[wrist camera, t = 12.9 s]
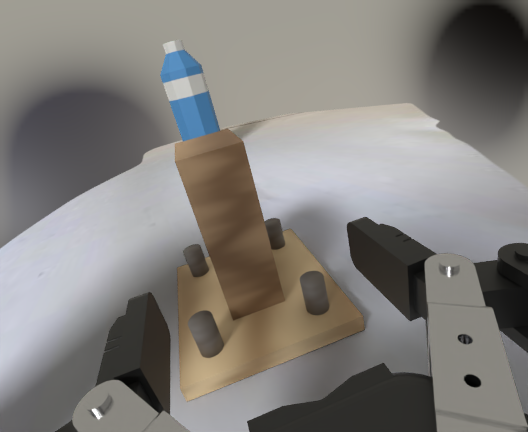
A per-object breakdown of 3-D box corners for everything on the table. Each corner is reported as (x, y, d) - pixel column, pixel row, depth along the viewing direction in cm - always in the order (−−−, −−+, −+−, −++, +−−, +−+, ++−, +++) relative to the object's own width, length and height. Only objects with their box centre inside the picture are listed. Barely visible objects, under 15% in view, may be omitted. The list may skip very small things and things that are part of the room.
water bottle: (231, 151, 76) (197, 33, 65) (193, 164, 73) (152, 43, 63) (220, 146, 84) (189, 41, 73) (186, 157, 81) (148, 50, 71)
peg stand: (187, 401, 19) (165, 359, 18) (181, 277, 32) (168, 246, 30) (364, 329, 21) (359, 285, 19) (293, 238, 34) (285, 207, 32)
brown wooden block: (233, 320, 23) (175, 161, 18) (222, 275, 28) (175, 143, 23) (285, 301, 23) (243, 141, 18) (264, 260, 29) (227, 128, 24)
